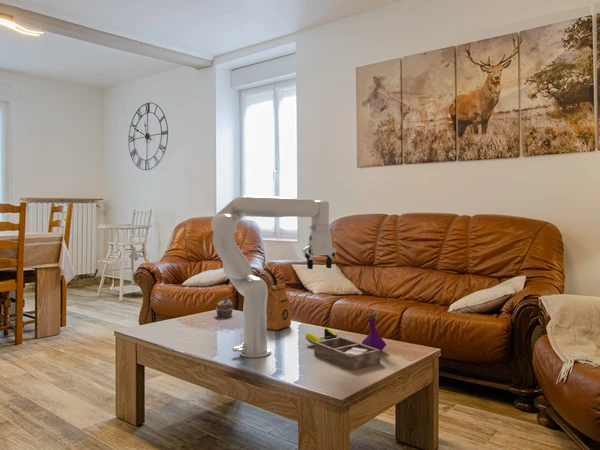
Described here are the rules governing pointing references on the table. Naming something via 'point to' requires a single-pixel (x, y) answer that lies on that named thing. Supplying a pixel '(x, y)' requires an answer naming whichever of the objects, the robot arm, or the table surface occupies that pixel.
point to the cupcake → (224, 308)
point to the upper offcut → (356, 351)
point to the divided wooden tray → (337, 349)
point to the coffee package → (278, 308)
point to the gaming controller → (328, 335)
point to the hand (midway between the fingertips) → (319, 268)
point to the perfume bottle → (373, 333)
